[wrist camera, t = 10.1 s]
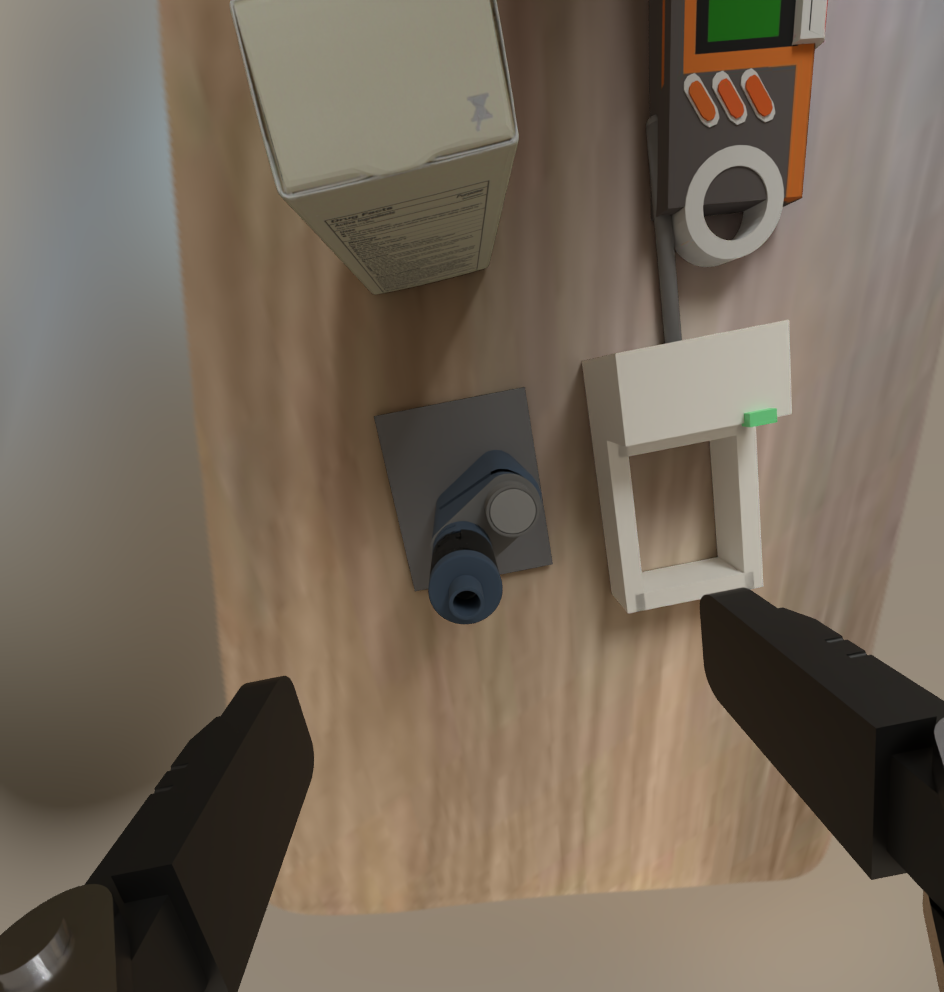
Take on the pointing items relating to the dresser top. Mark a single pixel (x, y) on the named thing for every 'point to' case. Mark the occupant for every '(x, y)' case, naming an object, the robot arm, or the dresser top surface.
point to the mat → (456, 469)
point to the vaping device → (479, 534)
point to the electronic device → (730, 115)
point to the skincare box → (386, 127)
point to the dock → (685, 433)
